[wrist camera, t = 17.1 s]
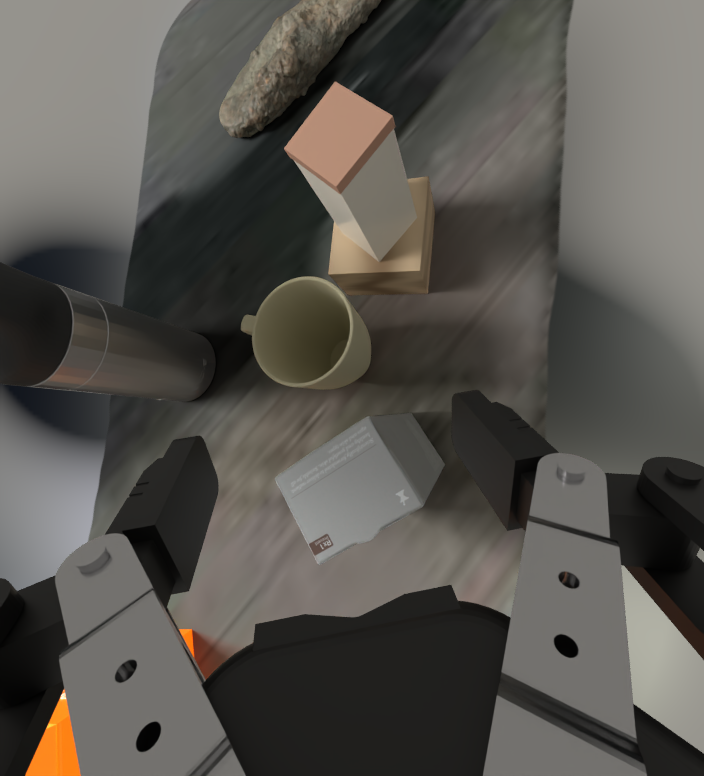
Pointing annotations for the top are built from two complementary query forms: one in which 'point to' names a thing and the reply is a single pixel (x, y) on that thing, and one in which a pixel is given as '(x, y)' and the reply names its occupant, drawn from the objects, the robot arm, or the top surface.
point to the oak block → (389, 254)
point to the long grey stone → (289, 61)
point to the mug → (309, 336)
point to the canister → (356, 169)
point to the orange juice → (65, 739)
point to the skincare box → (360, 482)
